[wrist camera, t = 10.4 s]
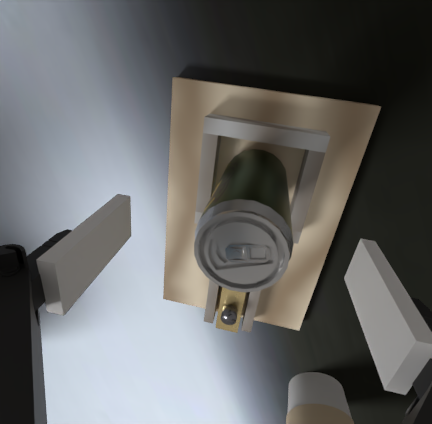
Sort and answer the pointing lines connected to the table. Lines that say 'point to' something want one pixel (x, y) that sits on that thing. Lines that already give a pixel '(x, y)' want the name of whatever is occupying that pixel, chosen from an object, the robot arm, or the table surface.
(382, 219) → the table surface
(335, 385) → the coffee cup
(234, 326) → the bar
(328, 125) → the dock
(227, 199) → the beer can
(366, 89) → the table surface
